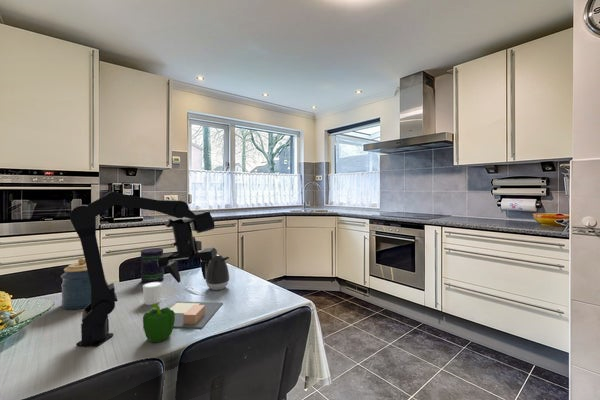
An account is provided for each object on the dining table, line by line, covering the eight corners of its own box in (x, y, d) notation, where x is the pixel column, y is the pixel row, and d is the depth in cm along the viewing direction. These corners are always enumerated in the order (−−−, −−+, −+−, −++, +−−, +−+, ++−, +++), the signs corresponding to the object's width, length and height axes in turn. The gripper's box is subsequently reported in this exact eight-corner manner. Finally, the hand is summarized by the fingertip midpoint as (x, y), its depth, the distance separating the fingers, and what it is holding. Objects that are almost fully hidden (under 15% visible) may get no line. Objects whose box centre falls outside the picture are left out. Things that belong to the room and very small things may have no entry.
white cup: (154, 306, 108) (154, 287, 108) (138, 304, 110) (138, 286, 109) (166, 299, 115) (166, 282, 115) (151, 298, 116) (151, 281, 116)
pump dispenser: (224, 292, 122) (223, 257, 122) (201, 291, 124) (201, 256, 123) (233, 285, 132) (233, 252, 132) (212, 284, 134) (211, 251, 133)
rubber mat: (201, 328, 90) (201, 326, 90) (147, 326, 92) (147, 325, 92) (222, 303, 110) (222, 302, 110) (177, 302, 112) (177, 301, 112)
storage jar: (143, 278, 141) (142, 248, 141) (165, 277, 144) (164, 247, 144) (138, 285, 132) (138, 253, 131) (162, 283, 135) (161, 251, 134)
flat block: (195, 324, 93) (195, 314, 93) (183, 323, 93) (183, 314, 93) (205, 313, 101) (205, 305, 101) (194, 313, 101) (193, 304, 101)
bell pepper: (179, 337, 85) (179, 304, 85) (150, 349, 79) (149, 313, 79) (167, 328, 91) (166, 297, 90) (139, 338, 84) (138, 305, 84)
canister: (94, 294, 120) (93, 253, 119) (110, 301, 113) (109, 256, 112) (55, 305, 109) (54, 259, 108) (70, 313, 102) (69, 264, 101)
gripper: (218, 227, 104) (225, 268, 106) (168, 234, 105) (176, 274, 107) (207, 235, 93) (215, 281, 95) (152, 243, 94) (161, 287, 96)
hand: (192, 280), depth 99 cm, fingers open, 9 cm apart
